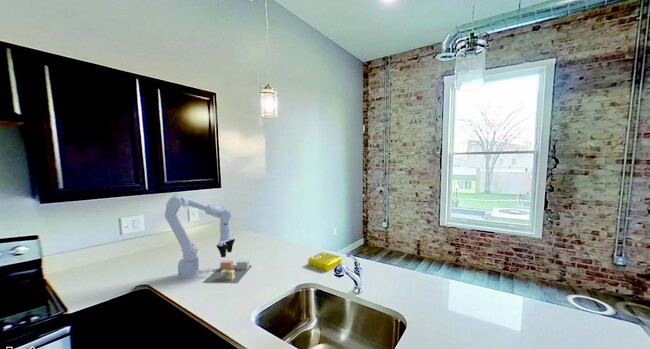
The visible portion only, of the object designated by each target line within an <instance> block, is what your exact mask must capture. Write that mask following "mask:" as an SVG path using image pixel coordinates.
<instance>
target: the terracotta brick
mask: <svg viewBox="0 0 650 349" xmlns="http://www.w3.org/2000/svg"><path fill="white" fill-rule="evenodd" d="M233 265H234V260H222V261H221V262H220V267H219V268H221V270H231V269H232V268H233Z"/></svg>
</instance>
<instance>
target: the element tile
mask: <svg viewBox="0 0 650 349" xmlns="http://www.w3.org/2000/svg"><path fill="white" fill-rule="evenodd" d="M307 261H308V262H307V263H308V264H307V265H308V267H309V266H310V267H309V268H313V267H314V268H313V269H316V268H317V269H316V270H319V269H320V271H322V270H324V271H323V272H330V271H332V270H333V269H335V268H336V267H335V266H336V265H337V264H340V265H342V257H341V256H339V255H336V254H331V253H328V252H324V251H321V252H319V253H318V254H315V255H314V256H311V257H309V258H308V259H307ZM334 267H335V268H334ZM331 269H332V270H331ZM329 270H330V271H329Z"/></svg>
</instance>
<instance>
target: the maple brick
mask: <svg viewBox="0 0 650 349" xmlns="http://www.w3.org/2000/svg"><path fill="white" fill-rule="evenodd" d="M234 278H235V270H222V271H221V280H233V279H234Z"/></svg>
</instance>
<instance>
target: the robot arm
mask: <svg viewBox="0 0 650 349" xmlns="http://www.w3.org/2000/svg"><path fill="white" fill-rule="evenodd" d="M165 206H166V207H165V211H164V217H165V220H166V221H167V223H168V225H169V227H170V228H171V230H172V232H173V234H174V236H175V238H176V239H177V241H178V243H179V245H180V248H181V252H182V259H180V260H179V261H178V264H177V278H176V279H195V278H197V277H198V276H199V275H200V274H201V273H203V271H202V270H201V271H200V269H199V267H200V265H199V256H198V255H197V254H198V250H199V249H198V246H197V245H195V244H194V243H193V241H192V240H191V239H190V237H189V236H188V234H187V232H186V230H185V228H184V226H183V224H182V223H181V221H180V219H179V217H178V215H177V214H178V211H179V209H180V208H181V207H182V208H186V207H192V208H195V209H199V210H202V211H204V212H205V214H206V215H209V216H212V217H215V218H219V220H220V221H219V222H220V223H219V233H220V236H219V238H220V239H219V241H218V242H217V244H216V248H217V250H218V252H219V255H220V258H226V256H227V253H232V251H233V245H234V243H235V241H236V239H235V238H234V235H233V234H232V222H231V221H232V220H231V217H232V215H231V214H232V213H231V212H230V210H229V209H228V208H224V207H221V206H217V205H216V204H215V203H209V204H206V203H203V202H201V201H198V200H196V199H193V198H191V197H188V196H185V195H181V194H174V195H173V196H172V197H171V198H169V199H168V201H167V203H166V204H165Z"/></svg>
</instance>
